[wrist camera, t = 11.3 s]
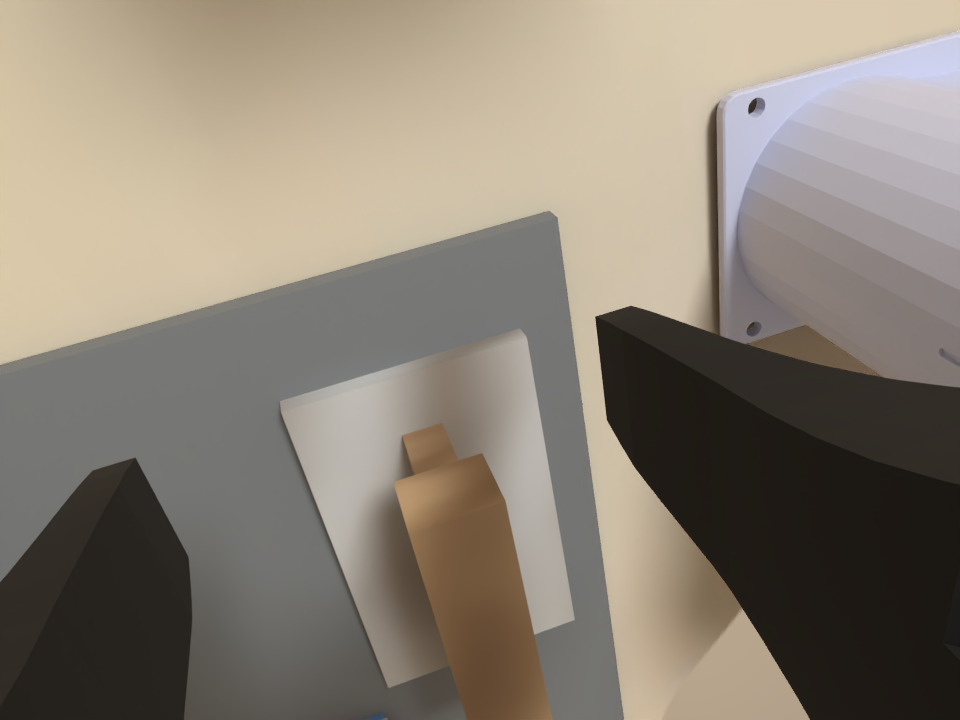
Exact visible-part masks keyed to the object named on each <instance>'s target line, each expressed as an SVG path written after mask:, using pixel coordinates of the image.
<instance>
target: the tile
mask: <svg viewBox="0 0 960 720" xmlns="http://www.w3.org/2000/svg"><path fill="white" fill-rule="evenodd" d="M366 720H388V718H386V717H385V715H384V713H382V714H379V715H377V716H374V717H371V718H369V719H366Z"/></svg>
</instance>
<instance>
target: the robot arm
mask: <svg viewBox="0 0 960 720" xmlns="http://www.w3.org/2000/svg"><path fill="white" fill-rule="evenodd" d="M755 98H756V100H757V105H756V108H755V110H754V111H753V112H752V113H750V114H749V113H748V107H749V104H750V103H751V101H752V100H753V99H755ZM717 175H718V240H719V306H720V336H719V335H716V334H713V333H711V332H708V331H705V330H702V329H699V328H696V327H694V326H691V325H688V324H685V323H682V322H679V321H677V320H674V319H671V318H668V317H665V316H662V315H659V314H657V313H654V312H651V311H647V310H644V309H641V308H637V307H633V306H629V307H626V308H622V309H619V310H616V311H613V312H609V313H606V314H603V315H599V316H596V317H595V318H596V327H597V336H598V345H599V353H600V362H601V371H602V380H603V389H604V398H605V406H606V415H607V421H608V423H609V424H610V426H611V428H612V430H613V431H614V433H615V435H616V437H617V438H618V440H619V442H620V444H621V445H622V447H623V449H624V450H625V452H626V454H627V455H628V457H629V459H630V460H631V462H632V464H633V465H634V467H635V468H636V470H637V471H638V472H639V474H640V475H641V476H642V477H643V479H644V480H645V481H646V483H647V484H648V485H649V486H650V488H651V489H652V490H653V491H654V493H655V494H656V495H657V497H658V498H659V499H660V500H661V502H662V503H663V504H664V505H665V507H666V508H667V509H668V510H669V512H670V513H671V514H672V515H673V517H674V518H675V519H676V520H677V521H678V523H679V524H680V525H681V526H682V528H683V529H684V530H685V531H686V533H687V534H688V535H689V536H690V538H691V539H692V540H693V541H694V543H695V544H696V545H697V546H698V548H699V549H700V550H701V551H702V553H703V554H704V555H705V556H706V558H707V559H708V560H709V561H710V563H711V564H712V565H713V566H714V568H715V569H716V570H717V572H718V573H719V575H720V576H721V577H722V579H723V580H724V581H725V583H726V584H727V586H728V587H729V588H730V590H731V591H732V593H733V594H734V596H735V597H736V599H737V601H738V602H739V604H740V605H741V607H742V608H743V610H744V611H745V613H746V615H747V616H748V618H749V619H750V621H751V623H752V624H753V625H754V627H755V629H756V630H757V632H758V633H759V635H760V636H761V638H762V640H763V641H764V643H765V645H766V646H767V648H768V650H769V651H770V653H771V655H772V656H773V658H774V659H775V661H776V662H777V664H778V666H779V668H780V669H781V671H782V673H783V674H784V676H785V678H786V679H787V681H788V683H789V684H790V686H791V687H792V689H793V691H794V692H795V694H796V696H797V697H798V699H799V701H800V703H801V704H802V706H803V708H804V710H805V711H806V713H807V715H808V716H809V718H810V720H960V31H956V32H952V33H949V34H945V35H941V36H937V37H934V38H930V39H926V40H922V41H919V42H915V43H911V44H907V45H904V46H900V47H896V48H892V49H889V50H885V51H881V52H877V53H874V54H870V55H866V56H862V57H859V58H855V59H851V60H847V61H844V62H840V63H836V64H832V65H829V66H825V67H821V68H817V69H814V70H810V71H806V72H802V73H799V74H795V75H791V76H787V77H784V78H780V79H776V80H772V81H769V82H765V83H761V84H757V85H754V86H750V87H746V88H742V89H739V90H735V91H732V92H730V93H728V94H726V95H725V96H724V97H723V98H722V99H721V101H720V103H719V105H718V108H717ZM753 322H754V325H753V326H752V328H751V329H749V330H748V331H747V328H748V326H749V325H750V324H751V323H753ZM804 325H807V326H808V327H810V328H811V329H813V330H814V331H816V332H817V333H819V334H820V335H822V336H823V337H825V338H826V339H828V340H829V341H831V342H832V343H834V344H835V345H836V346H838V347H839V348H841V349H842V350H844V351H845V352H847V353H848V354H850V355H851V356H853V357H854V358H856V359H857V360H859V361H860V362H862V363H863V364H865V365H866V366H868V367H869V368H871V369H872V370H873V371H875V372H876V373H878V374H879V375H881V376H882V377H877V376H872V375H867V374H862V373H857V372H852V371H847V370H842V369H837V368H832V367H827V366H823V365H818V364H814V363H810V362H806V361H802V360H798V359H795V358H791V357H788V356H784V355H780V354H777V353H773V352H770V351H766V350H763V349H760V348H756V347H753V346H750V345H747V344H748V343H751V342H754V341H757V340H760V339H763V338H766V337H769V336H772V335H776V334H779V333H782V332H785V331H788V330H791V329H794V328H797V327H800V326H804ZM191 631H192V597H191V581H190V568H189V557H188V555H187V553H186V551H185V549H184V547H183V546H182V544H181V542H180V540H179V538H178V536H177V534H176V532H175V531H174V529H173V527H172V525H171V523H170V521H169V519H168V517H167V516H166V514H165V512H164V510H163V508H162V506H161V504H160V502H159V501H158V499H157V497H156V495H155V493H154V491H153V489H152V487H151V486H150V484H149V482H148V480H147V478H146V476H145V474H144V473H143V471H142V469H141V467H140V465H139V463H138V461H137V459H136V458H132V459H128V460H125V461H122V462H118V463H115V464H112V465H109V466H105V467H102V468H99V469H96V470H93V471H92V472H91V473H90V474H89V475H88V476H87V477H86V478H85V479H84V480H83V481H82V482H81V484H80V485H79V486H78V487H77V488H76V490H75V491H74V492H73V493H72V494H71V496H70V497H69V498H68V499H67V501H66V502H65V503H64V504H63V506H62V507H61V508H60V509H59V511H58V512H57V513H56V514H55V516H54V517H53V518H52V519H51V521H50V522H49V523H48V524H47V526H46V527H45V528H44V529H43V531H42V532H41V533H40V534H39V536H38V537H37V538H36V539H35V541H34V542H33V543H32V544H31V545H30V547H29V548H28V549H27V550H26V552H25V553H24V554H23V555H22V557H21V558H20V559H19V560H18V562H17V563H16V564H15V565H14V567H13V568H12V569H11V570H10V571H9V573H8V574H7V575H6V576H5V577H4V578H3V579H2V581H1V582H0V720H184V712H185V701H186V690H187V679H188V668H189V656H190V643H191Z"/></svg>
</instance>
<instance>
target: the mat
mask: <svg viewBox="0 0 960 720" xmlns="http://www.w3.org/2000/svg"><path fill="white" fill-rule="evenodd" d="M516 329H521V330H522V332H523V333H524V334H525V336H526V337H527V341H528V347H529V353H530V359H531V365H532V371H533V377H534V383H535V389H536V394H537V400H538V406H539V412H540V418H541V424H542V430H543V436H544V441H545V447H546V453H547V459H548V465H549V471H550V477H551V483H552V489H553V494H554V500H555V506H556V512H557V518H558V524H559V530H560V536H561V541H562V547H563V553H564V559H565V565H566V571H567V577H568V583H569V589H570V594H571V600H572V606H573V612H574V618H575V620H573V621H570V622H568V623H565V624H562V625H559V626H557V627H554V628H551V629H548V630H546V631H543V632H540V633H538V634H535V635H534V636H535V641H536V645H537V650H538V654H539V659H540V664H541V668H542V673H543V678H544V682H545V687H546V692H547V696H548V701H549V706H550V710H551V715H552V720H624V716H623V709H622V701H621V694H620V686H619V679H618V671H617V664H616V656H615V648H614V641H613V633H612V626H611V618H610V611H609V603H608V596H607V588H606V581H605V573H604V566H603V558H602V551H601V543H600V536H599V528H598V520H597V513H596V505H595V498H594V490H593V483H592V475H591V468H590V460H589V453H588V445H587V438H586V430H585V423H584V415H583V407H582V400H581V392H580V385H579V377H578V370H577V362H576V355H575V347H574V340H573V332H572V325H571V317H570V310H569V302H568V295H567V287H566V279H565V272H564V264H563V257H562V249H561V242H560V234H559V227H558V219H557V217H556V216H555V215H554V214H553V213H551V212H550V211H547V212H544V213H540V214H537V215H533V216H530V217H526V218H522V219H519V220H515V221H512V222H508V223H505V224H501V225H498V226H494V227H490V228H487V229H483V230H480V231H476V232H473V233H469V234H466V235H462V236H458V237H455V238H451V239H448V240H444V241H441V242H437V243H433V244H430V245H426V246H423V247H419V248H416V249H412V250H409V251H405V252H401V253H398V254H394V255H391V256H387V257H384V258H380V259H377V260H373V261H369V262H366V263H362V264H359V265H355V266H352V267H348V268H345V269H341V270H337V271H334V272H330V273H327V274H323V275H320V276H316V277H313V278H309V279H305V280H302V281H298V282H295V283H291V284H288V285H284V286H280V287H277V288H273V289H270V290H266V291H263V292H259V293H256V294H252V295H248V296H245V297H241V298H238V299H234V300H231V301H227V302H224V303H220V304H216V305H213V306H209V307H206V308H202V309H199V310H195V311H192V312H188V313H184V314H181V315H177V316H174V317H170V318H167V319H163V320H159V321H156V322H152V323H149V324H145V325H142V326H138V327H135V328H131V329H127V330H124V331H120V332H117V333H113V334H110V335H106V336H103V337H99V338H95V339H92V340H88V341H85V342H81V343H78V344H74V345H71V346H67V347H63V348H60V349H56V350H53V351H49V352H46V353H42V354H39V355H35V356H31V357H28V358H24V359H21V360H17V361H14V362H10V363H6V364H3V365H0V582H1V581H2V579H3V578H4V577H5V576H6V575H7V574H8V573H9V571H10V570H11V569H12V568H13V567H14V565H15V564H16V563H17V562H18V560H19V559H20V558H21V557H22V555H23V554H24V553H25V552H26V550H27V549H28V548H29V547H30V545H31V544H32V543H33V542H34V541H35V539H36V538H37V537H38V536H39V534H40V533H41V532H42V531H43V529H44V528H45V527H46V526H47V524H48V523H49V522H50V521H51V519H52V518H53V517H54V516H55V514H56V513H57V512H58V511H59V509H60V508H61V507H62V506H63V504H64V503H65V502H66V501H67V499H68V498H69V497H70V496H71V494H72V493H73V492H74V491H75V490H76V488H77V487H78V486H79V485H80V484H81V482H82V481H83V480H84V479H85V478H86V477H87V476H88V475H89V474H90V473H91V472H92V471H93V470H96V469H99V468H102V467H105V466H109V465H112V464H115V463H118V462H122V461H125V460H128V459H132V458H136V459H137V461H138V463H139V465H140V467H141V469H142V471H143V473H144V474H145V476H146V478H147V480H148V482H149V484H150V486H151V487H152V489H153V491H154V493H155V495H156V497H157V499H158V501H159V502H160V504H161V506H162V508H163V510H164V512H165V514H166V516H167V517H168V519H169V521H170V523H171V525H172V527H173V529H174V531H175V532H176V534H177V536H178V538H179V540H180V542H181V544H182V546H183V547H184V549H185V551H186V553H187V555H188V557H189V568H190V581H191V597H192V631H191V643H190V656H189V668H188V679H187V690H186V701H185V712H184V720H366V719H369V718H371V717H374V716H377V715H379V714H382V713H384V715H385V717H386V718H388V720H467V718H466V715H465V712H464V709H463V706H462V702H461V699H460V696H459V693H458V690H457V687H456V683H455V680H454V677H453V674H452V671H451V667H450V666H448V667H445V668H442V669H439V670H437V671H434V672H431V673H428V674H426V675H423V676H420V677H418V678H415V679H412V680H409V681H407V682H404V683H401V684H399V685H396V686H393V687H390V688H388V686H387V683H386V680H385V678H384V675H383V673H382V670H381V668H380V665H379V663H378V660H377V657H376V655H375V652H374V650H373V647H372V645H371V642H370V639H369V637H368V634H367V632H366V629H365V627H364V624H363V622H362V619H361V616H360V614H359V611H358V609H357V606H356V604H355V601H354V598H353V596H352V593H351V591H350V588H349V586H348V583H347V581H346V578H345V575H344V573H343V570H342V568H341V565H340V563H339V560H338V557H337V555H336V552H335V550H334V547H333V545H332V542H331V539H330V537H329V534H328V532H327V529H326V527H325V524H324V522H323V519H322V516H321V514H320V511H319V509H318V506H317V504H316V501H315V498H314V496H313V493H312V491H311V488H310V486H309V483H308V481H307V478H306V475H305V473H304V470H303V468H302V465H301V463H300V460H299V457H298V455H297V452H296V450H295V447H294V445H293V442H292V440H291V437H290V434H289V432H288V429H287V427H286V424H285V422H284V419H283V416H282V414H281V407H280V401H282V400H286V399H289V398H292V397H295V396H299V395H302V394H305V393H309V392H312V391H315V390H319V389H322V388H325V387H328V386H332V385H335V384H338V383H342V382H345V381H348V380H351V379H355V378H358V377H361V376H365V375H368V374H371V373H375V372H378V371H381V370H384V369H388V368H391V367H394V366H398V365H401V364H404V363H408V362H411V361H414V360H417V359H421V358H424V357H427V356H431V355H434V354H437V353H440V352H444V351H447V350H450V349H454V348H457V347H460V346H464V345H467V344H470V343H473V342H477V341H480V340H483V339H487V338H490V337H493V336H497V335H500V334H503V333H506V332H510V331H513V330H516Z"/></svg>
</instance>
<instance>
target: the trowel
mask: <svg viewBox="0 0 960 720" xmlns="http://www.w3.org/2000/svg"><path fill="white" fill-rule="evenodd" d="M280 407H281V414H282V416H283V419H284V422H285V424H286V427H287V429H288V432H289V434H290V437H291V440H292V442H293V445H294V447H295V450H296V452H297V455H298V457H299V460H300V463H301V465H302V468H303V470H304V473H305V475H306V478H307V481H308V483H309V486H310V488H311V491H312V493H313V496H314V498H315V501H316V504H317V506H318V509H319V511H320V514H321V516H322V519H323V522H324V524H325V527H326V529H327V532H328V534H329V537H330V539H331V542H332V545H333V547H334V550H335V552H336V555H337V557H338V560H339V563H340V565H341V568H342V570H343V573H344V575H345V578H346V581H347V583H348V586H349V588H350V591H351V593H352V596H353V598H354V601H355V604H356V606H357V609H358V611H359V614H360V616H361V619H362V622H363V624H364V627H365V629H366V632H367V634H368V637H369V639H370V642H371V645H372V647H373V650H374V652H375V655H376V657H377V660H378V663H379V665H380V668H381V670H382V673H383V675H384V678H385V680H386V683H387V686H388V688H390V687H393V686H396V685H399V684H401V683H404V682H407V681H409V680H412V679H415V678H418V677H420V676H423V675H426V674H428V673H431V672H434V671H437V670H439V669H442V668H445V667H448V666H450V667H451V671H452V674H453V677H454V680H455V683H456V687H457V690H458V693H459V696H460V699H461V702H462V706H463V709H464V712H465V715H466V718H467V720H552V715H551V710H550V706H549V701H548V696H547V692H546V687H545V682H544V678H543V673H542V668H541V664H540V659H539V654H538V650H537V645H536V641H535V636H534V635H535V634H538V633H540V632H543V631H546V630H548V629H551V628H554V627H557V626H559V625H562V624H565V623H568V622H570V621H573V620H575V618H574V612H573V606H572V600H571V594H570V589H569V583H568V577H567V571H566V565H565V559H564V553H563V547H562V541H561V536H560V530H559V524H558V518H557V512H556V506H555V500H554V494H553V489H552V483H551V477H550V471H549V465H548V459H547V453H546V447H545V441H544V436H543V430H542V424H541V418H540V412H539V406H538V400H537V394H536V389H535V383H534V377H533V371H532V365H531V359H530V353H529V347H528V341H527V337H526V336H525V334H524V333H523V332H522V330H521V329H516V330H513V331H510V332H506V333H503V334H500V335H497V336H493V337H490V338H487V339H483V340H480V341H477V342H473V343H470V344H467V345H464V346H460V347H457V348H454V349H450V350H447V351H444V352H440V353H437V354H434V355H431V356H427V357H424V358H421V359H417V360H414V361H411V362H408V363H404V364H401V365H398V366H394V367H391V368H388V369H384V370H381V371H378V372H375V373H371V374H368V375H365V376H361V377H358V378H355V379H351V380H348V381H345V382H342V383H338V384H335V385H332V386H328V387H325V388H322V389H319V390H315V391H312V392H309V393H305V394H302V395H299V396H295V397H292V398H289V399H286V400H282V401H280Z"/></svg>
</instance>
